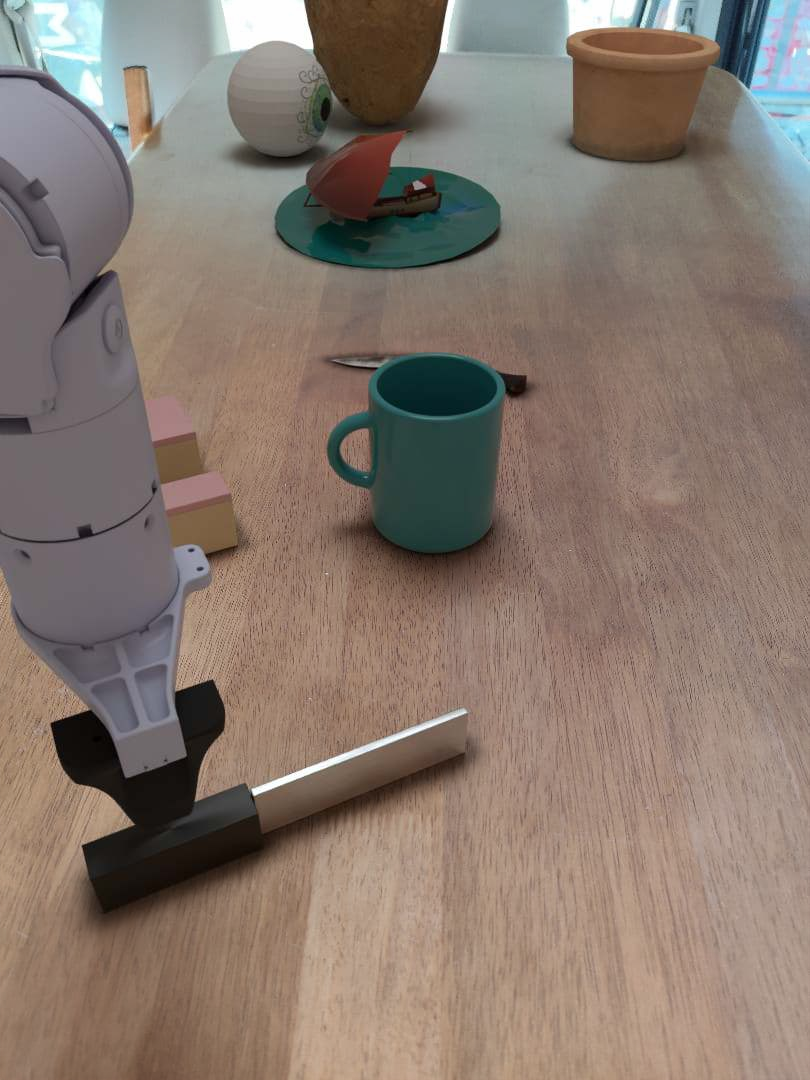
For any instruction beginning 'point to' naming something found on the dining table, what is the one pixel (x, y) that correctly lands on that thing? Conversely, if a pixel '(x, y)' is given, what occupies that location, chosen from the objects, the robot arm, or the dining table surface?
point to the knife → (510, 380)
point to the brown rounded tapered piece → (377, 52)
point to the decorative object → (279, 98)
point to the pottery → (636, 89)
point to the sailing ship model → (384, 209)
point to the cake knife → (259, 812)
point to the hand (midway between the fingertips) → (142, 746)
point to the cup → (429, 450)
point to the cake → (172, 440)
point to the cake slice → (200, 512)
